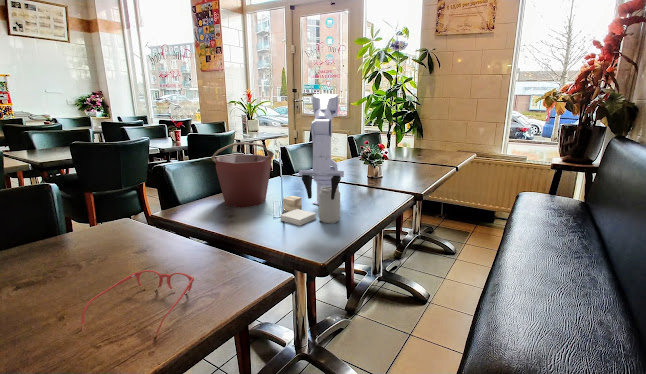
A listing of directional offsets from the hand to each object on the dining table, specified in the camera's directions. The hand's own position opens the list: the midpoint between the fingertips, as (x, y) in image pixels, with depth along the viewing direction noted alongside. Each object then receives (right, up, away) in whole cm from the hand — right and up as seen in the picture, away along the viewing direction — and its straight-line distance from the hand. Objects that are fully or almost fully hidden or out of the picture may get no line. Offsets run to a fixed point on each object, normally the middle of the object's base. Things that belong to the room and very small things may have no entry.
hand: (321, 198), depth 113 cm
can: (+3, -8, +11) cm, 14 cm away
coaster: (-8, -8, +12) cm, 17 cm away
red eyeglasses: (-36, -22, -42) cm, 59 cm away
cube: (-11, -5, +23) cm, 26 cm away
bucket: (-32, -3, +33) cm, 46 cm away
